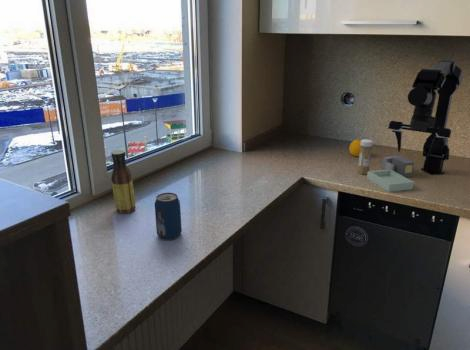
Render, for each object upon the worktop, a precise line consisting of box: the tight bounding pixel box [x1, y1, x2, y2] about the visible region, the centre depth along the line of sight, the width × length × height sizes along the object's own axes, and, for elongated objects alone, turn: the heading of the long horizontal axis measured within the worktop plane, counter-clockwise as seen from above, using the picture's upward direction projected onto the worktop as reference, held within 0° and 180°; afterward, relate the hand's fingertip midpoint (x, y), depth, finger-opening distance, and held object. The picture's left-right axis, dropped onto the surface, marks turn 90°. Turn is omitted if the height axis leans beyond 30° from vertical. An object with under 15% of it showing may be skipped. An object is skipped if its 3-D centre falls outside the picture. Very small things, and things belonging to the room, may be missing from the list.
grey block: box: [391, 155, 415, 178], centre depth 159 cm, size 4×8×6 cm, turn 15°
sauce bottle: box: [110, 149, 136, 215], centre depth 125 cm, size 6×6×20 cm
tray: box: [366, 169, 415, 193], centre depth 149 cm, size 10×14×3 cm
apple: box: [348, 139, 362, 158], centre depth 181 cm, size 8×8×8 cm
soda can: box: [154, 192, 182, 241], centre depth 111 cm, size 7×7×12 cm
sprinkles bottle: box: [357, 138, 374, 175], centre depth 159 cm, size 5×5×14 cm
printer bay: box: [381, 155, 400, 171], centre depth 163 cm, size 7×6×5 cm
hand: (413, 154), depth 134 cm, fingers open, 9 cm apart
